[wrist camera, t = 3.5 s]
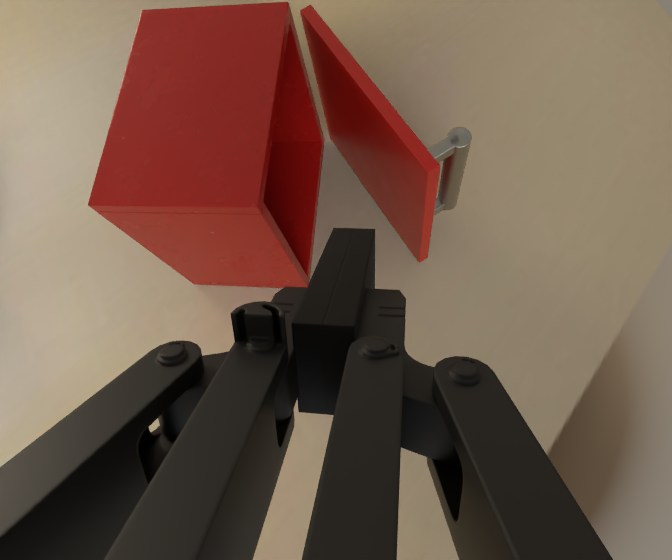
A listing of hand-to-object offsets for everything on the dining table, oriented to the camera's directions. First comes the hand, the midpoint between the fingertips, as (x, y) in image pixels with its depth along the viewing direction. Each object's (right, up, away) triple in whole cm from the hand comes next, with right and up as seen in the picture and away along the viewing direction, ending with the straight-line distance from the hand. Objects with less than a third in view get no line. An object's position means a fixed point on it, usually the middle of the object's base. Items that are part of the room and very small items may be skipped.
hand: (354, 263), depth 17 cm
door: (+4, +7, +21) cm, 23 cm away
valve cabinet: (-7, +5, +23) cm, 24 cm away
